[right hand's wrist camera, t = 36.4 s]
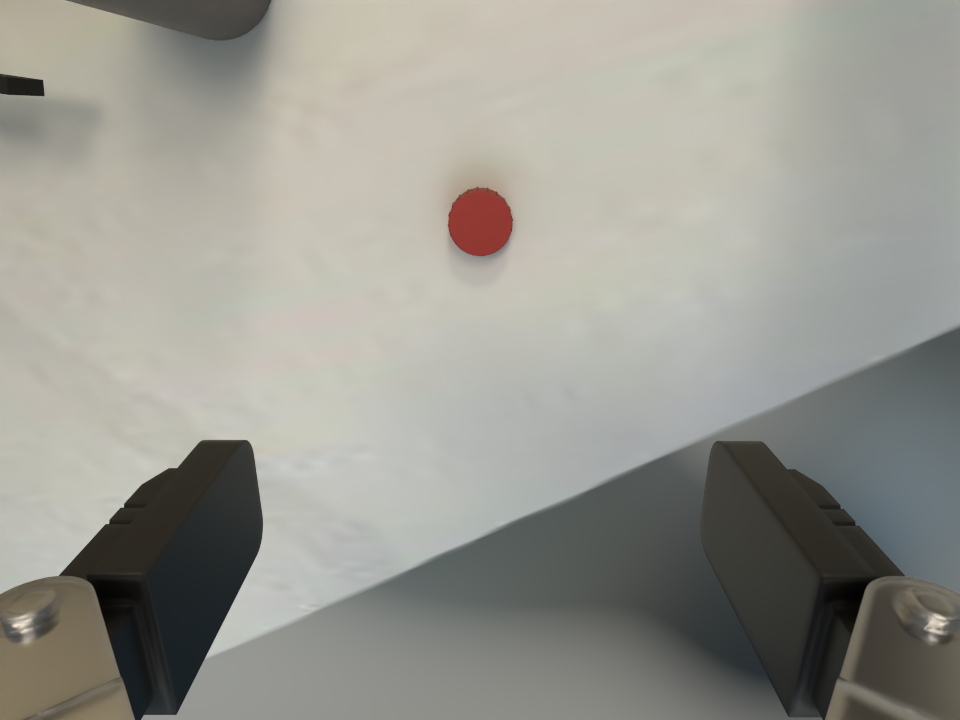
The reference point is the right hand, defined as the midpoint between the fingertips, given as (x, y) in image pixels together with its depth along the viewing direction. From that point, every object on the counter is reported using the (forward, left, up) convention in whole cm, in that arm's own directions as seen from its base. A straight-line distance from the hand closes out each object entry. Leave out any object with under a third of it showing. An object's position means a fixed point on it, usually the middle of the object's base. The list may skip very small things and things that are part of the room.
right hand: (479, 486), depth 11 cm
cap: (0, 0, -29) cm, 29 cm away
